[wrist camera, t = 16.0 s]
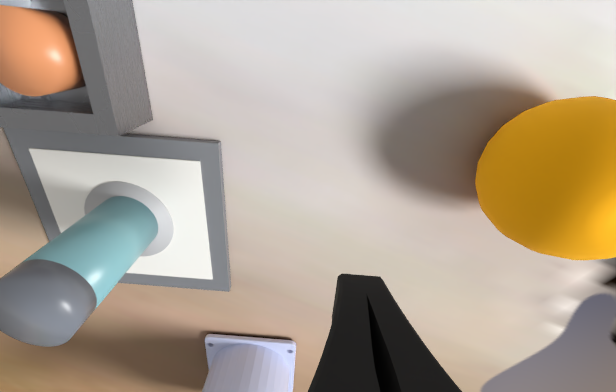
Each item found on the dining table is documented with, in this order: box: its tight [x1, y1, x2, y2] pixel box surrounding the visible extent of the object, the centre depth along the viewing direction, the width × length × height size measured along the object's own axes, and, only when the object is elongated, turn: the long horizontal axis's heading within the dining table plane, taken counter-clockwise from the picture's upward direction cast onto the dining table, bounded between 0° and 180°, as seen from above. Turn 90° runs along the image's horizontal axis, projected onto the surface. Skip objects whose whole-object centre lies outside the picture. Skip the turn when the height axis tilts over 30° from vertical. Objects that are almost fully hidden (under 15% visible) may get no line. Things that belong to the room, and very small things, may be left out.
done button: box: [0, 5, 86, 96], centre depth 14 cm, size 4×4×2 cm
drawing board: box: [3, 127, 231, 292], centre depth 21 cm, size 12×13×1 cm
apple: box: [475, 96, 616, 260], centre depth 15 cm, size 8×8×8 cm
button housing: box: [0, 0, 153, 136], centre depth 15 cm, size 7×7×3 cm
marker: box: [0, 196, 158, 347], centre depth 17 cm, size 4×4×8 cm
